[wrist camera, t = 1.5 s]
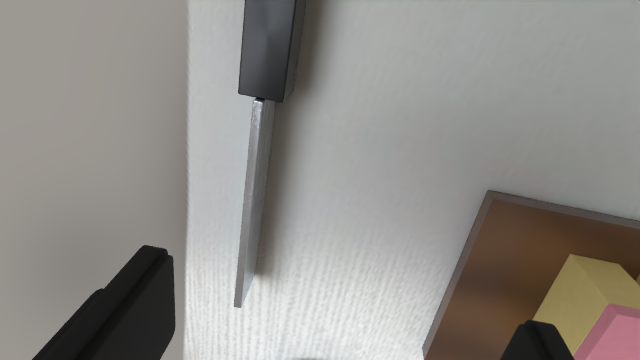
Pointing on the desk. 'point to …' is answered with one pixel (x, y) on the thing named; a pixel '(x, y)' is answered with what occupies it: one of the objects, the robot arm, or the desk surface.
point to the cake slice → (594, 310)
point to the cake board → (518, 270)
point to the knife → (263, 108)
